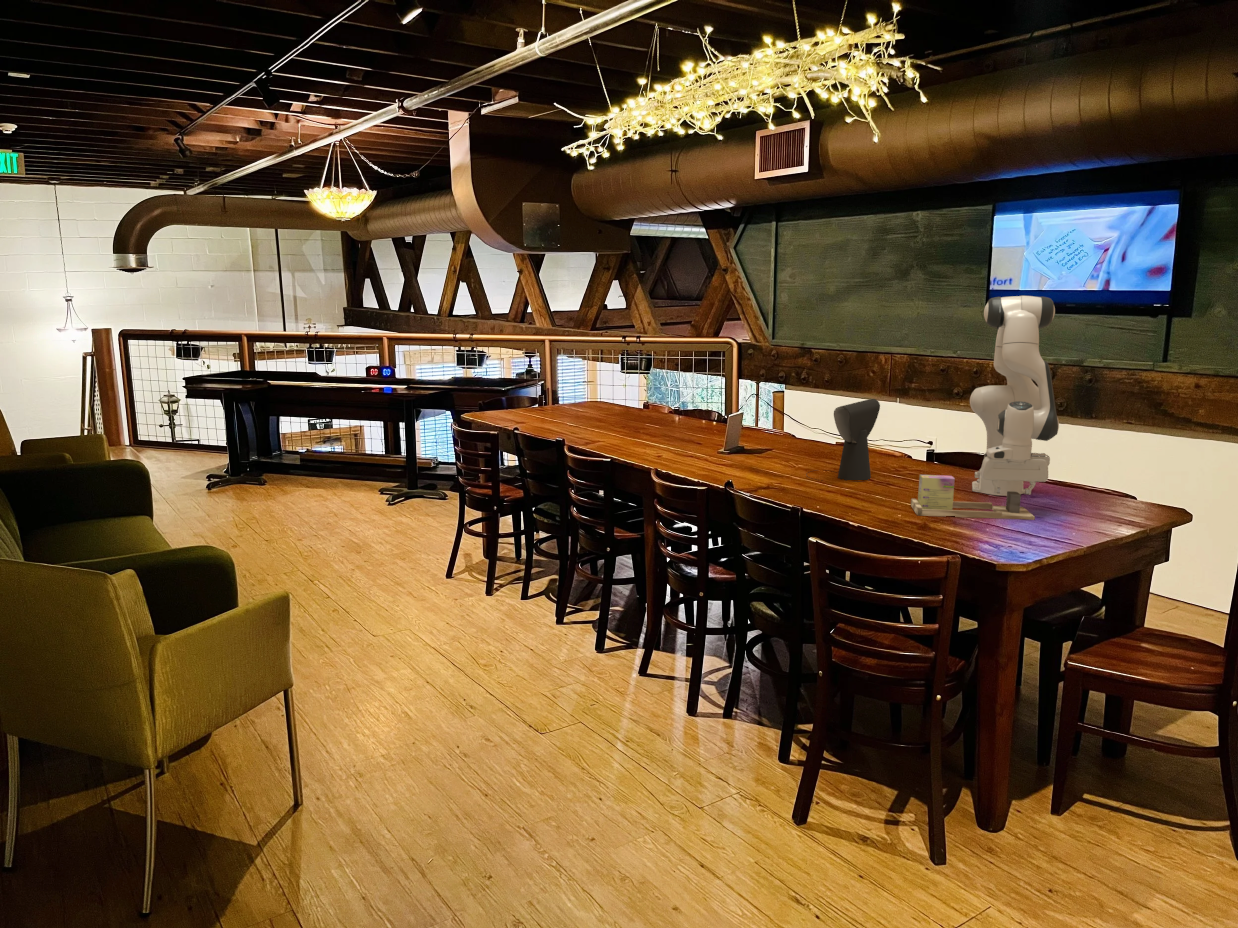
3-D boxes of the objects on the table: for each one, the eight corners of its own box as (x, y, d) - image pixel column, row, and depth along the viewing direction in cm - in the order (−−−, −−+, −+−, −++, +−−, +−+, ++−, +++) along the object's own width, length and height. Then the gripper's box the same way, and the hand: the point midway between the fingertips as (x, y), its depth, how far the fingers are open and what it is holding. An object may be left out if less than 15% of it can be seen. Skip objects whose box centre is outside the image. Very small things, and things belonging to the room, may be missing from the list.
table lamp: (884, 492, 324) (889, 410, 319) (806, 489, 330) (809, 409, 324) (876, 471, 363) (879, 398, 357) (806, 469, 368) (808, 397, 363)
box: (949, 509, 298) (951, 475, 295) (952, 513, 292) (955, 478, 290) (917, 508, 299) (919, 474, 297) (919, 512, 294) (921, 477, 292)
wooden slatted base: (910, 505, 303) (912, 485, 302) (1022, 509, 297) (1024, 489, 296) (917, 515, 290) (918, 494, 288) (1034, 519, 284) (1036, 498, 282)
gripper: (1047, 451, 289) (1043, 492, 292) (981, 449, 293) (977, 490, 296) (1053, 455, 283) (1049, 497, 286) (985, 453, 287) (981, 494, 290)
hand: (1012, 493), depth 291 cm, fingers open, 8 cm apart
